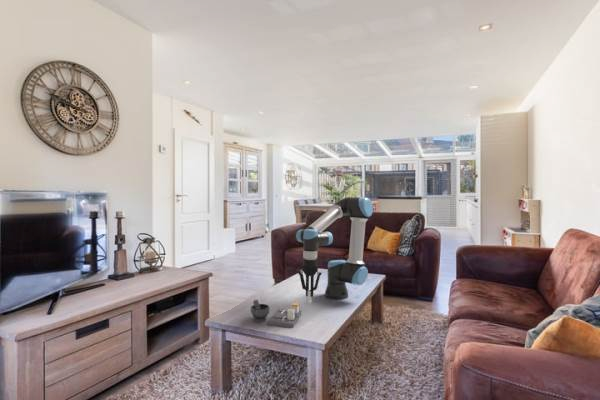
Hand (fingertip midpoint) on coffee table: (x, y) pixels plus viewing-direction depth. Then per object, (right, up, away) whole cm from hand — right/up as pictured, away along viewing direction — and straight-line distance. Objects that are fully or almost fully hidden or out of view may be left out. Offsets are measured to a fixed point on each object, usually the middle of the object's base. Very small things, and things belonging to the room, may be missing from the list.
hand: (309, 302), depth 169 cm
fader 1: (-10, -6, -7) cm, 13 cm away
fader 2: (-7, -6, +2) cm, 10 cm away
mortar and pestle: (-26, -9, -3) cm, 28 cm away
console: (-13, -8, -2) cm, 15 cm away
